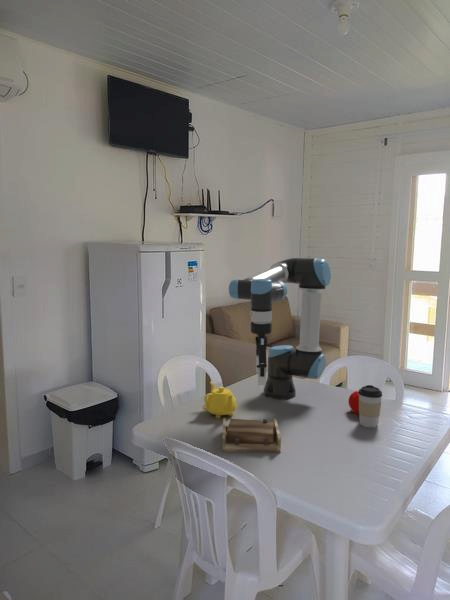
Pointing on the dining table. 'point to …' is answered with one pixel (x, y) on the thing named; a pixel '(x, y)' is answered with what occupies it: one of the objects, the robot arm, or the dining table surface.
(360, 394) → the coffee cup
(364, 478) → the dining table surface
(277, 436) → the box
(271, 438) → the door
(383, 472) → the dining table surface
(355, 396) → the tomato
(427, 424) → the dining table surface
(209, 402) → the teapot
